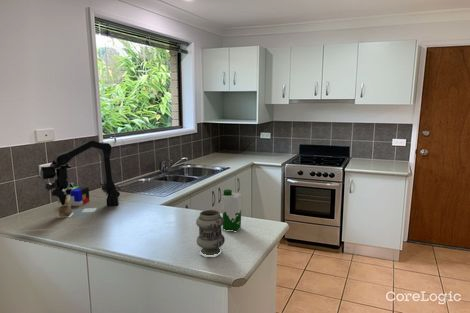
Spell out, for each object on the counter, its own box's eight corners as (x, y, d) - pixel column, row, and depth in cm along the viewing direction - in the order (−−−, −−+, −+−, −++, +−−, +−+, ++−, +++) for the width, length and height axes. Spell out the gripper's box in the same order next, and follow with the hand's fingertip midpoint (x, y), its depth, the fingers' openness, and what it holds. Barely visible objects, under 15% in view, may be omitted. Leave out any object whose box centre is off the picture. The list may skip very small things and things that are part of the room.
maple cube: (70, 203, 192) (70, 194, 191) (68, 205, 187) (67, 197, 186) (61, 203, 191) (60, 195, 190) (58, 206, 186) (57, 197, 185)
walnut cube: (71, 213, 193) (71, 205, 192) (68, 216, 188) (68, 207, 187) (62, 213, 192) (61, 205, 191) (59, 216, 187) (58, 208, 186)
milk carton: (226, 224, 176) (226, 187, 173) (243, 227, 173) (243, 189, 170) (220, 231, 168) (219, 192, 165) (237, 233, 165) (237, 194, 161)
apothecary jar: (203, 245, 151) (202, 206, 148) (228, 248, 148) (228, 209, 145) (192, 257, 140) (191, 215, 137) (219, 260, 136) (218, 218, 134)
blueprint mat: (97, 208, 203) (97, 207, 203) (90, 217, 189) (90, 215, 188) (64, 210, 200) (64, 209, 200) (55, 218, 186) (55, 217, 186)
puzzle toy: (79, 207, 207) (78, 191, 205) (65, 206, 209) (64, 190, 207) (89, 202, 216) (88, 187, 215) (75, 201, 218) (74, 186, 217)
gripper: (52, 173, 194) (55, 199, 197) (39, 181, 176) (42, 209, 179) (73, 172, 196) (75, 198, 199) (62, 180, 178) (65, 208, 180)
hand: (64, 203), depth 189 cm, fingers closed on maple cube, 5 cm apart
